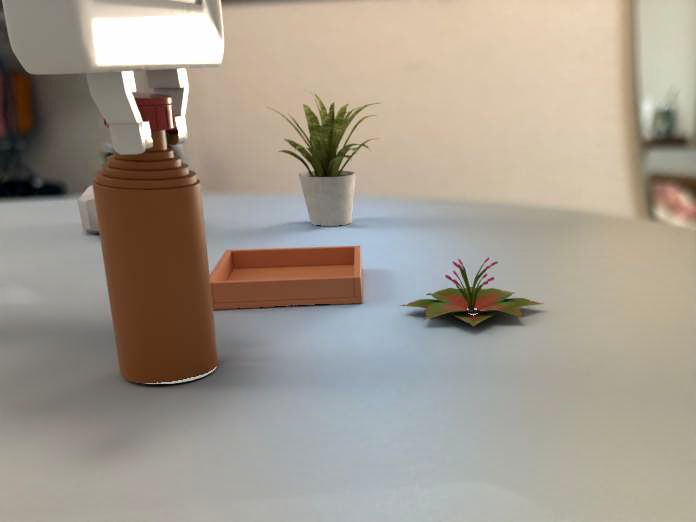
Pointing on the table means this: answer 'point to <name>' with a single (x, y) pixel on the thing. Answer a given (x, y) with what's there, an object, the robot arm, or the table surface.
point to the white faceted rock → (88, 211)
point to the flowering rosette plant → (471, 299)
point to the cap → (155, 110)
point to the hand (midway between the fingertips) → (154, 148)
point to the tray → (287, 277)
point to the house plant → (327, 164)
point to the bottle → (156, 264)
